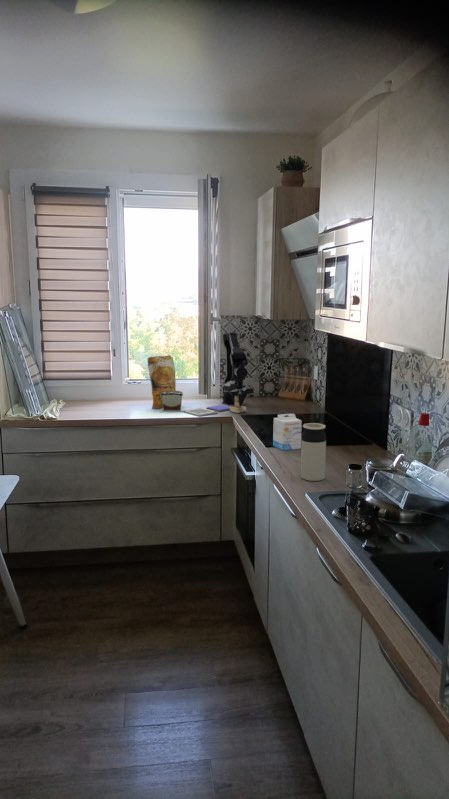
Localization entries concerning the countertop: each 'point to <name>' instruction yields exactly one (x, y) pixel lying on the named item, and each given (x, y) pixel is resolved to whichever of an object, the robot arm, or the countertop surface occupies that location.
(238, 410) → the stamp
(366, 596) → the countertop surface
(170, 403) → the food container
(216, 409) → the ink pad
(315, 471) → the travel mug
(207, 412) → the marked board
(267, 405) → the countertop surface
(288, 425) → the ink box
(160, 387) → the pancake mix bag
